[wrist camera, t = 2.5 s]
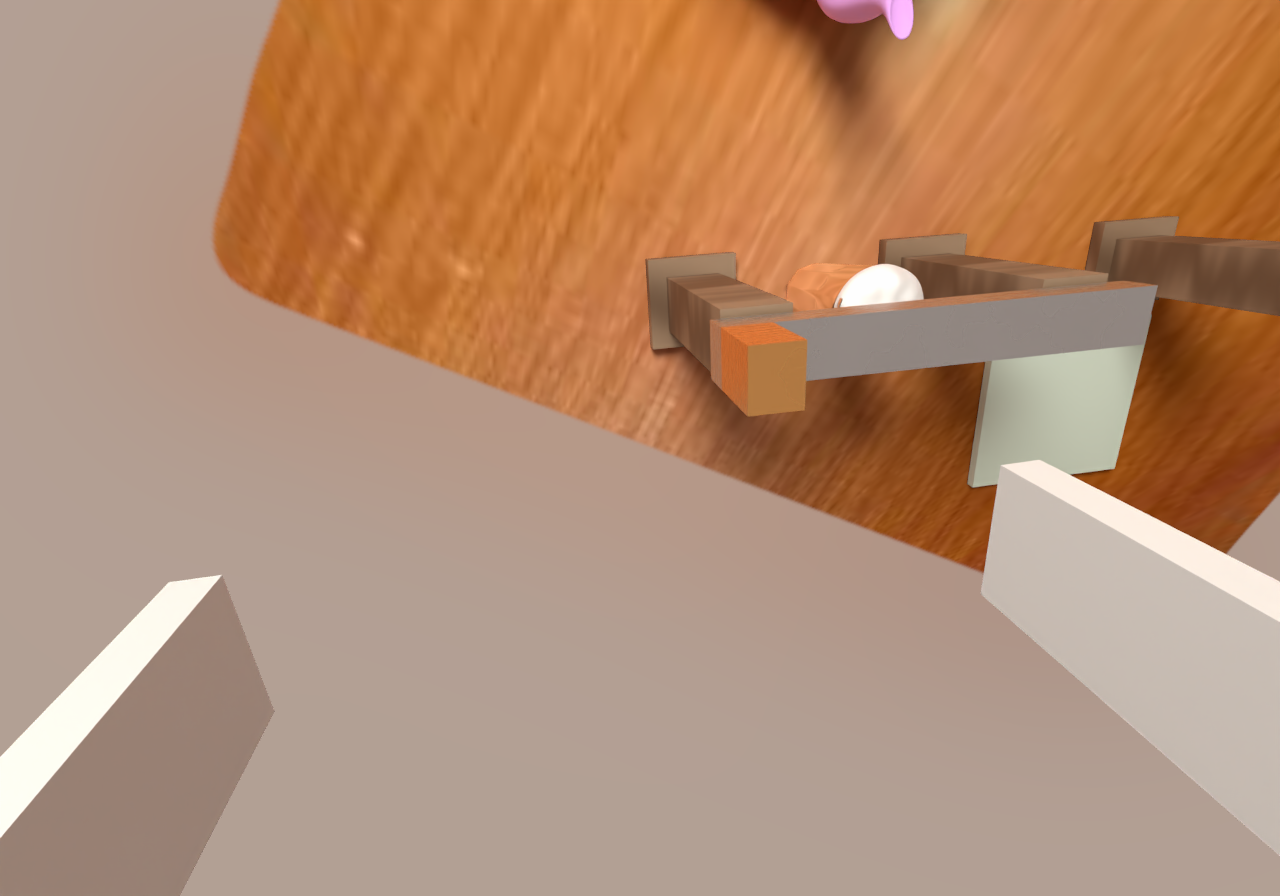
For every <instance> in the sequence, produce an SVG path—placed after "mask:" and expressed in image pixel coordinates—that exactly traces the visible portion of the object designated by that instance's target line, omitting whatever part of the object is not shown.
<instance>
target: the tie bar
mask: <svg viewBox="0 0 1280 896" xmlns="http://www.w3.org/2000/svg"><path fill="white" fill-rule="evenodd" d="M1157 287H1158V285H1152V284H1145V283H1137V282H1130V281H1114V282H1103V283H1093V284H1082V285H1072V286H1061V287H1050V288H1040V289H1029V290H1019V291H1008V292H997V293H987V294H976V295H966V296H955V297H944V298H934V299H923V300H913V301H902V302H891V303H881V304H870V305H860V306H849V307H838V308H828V309H817V310H807V311H796V312H785V313H775V314H764V315H754V316H743V317H732V318H722V319H711V320H710V349H711V379H712V380H713V381H714V382H715V383H716V384H717V386H718V387H719V388H720V389H721V390H722V391H723V392H724V393H725V394H726V395H727V396H728V397H729V398H730V399H731V400H732V401H733V402H734V403H735V404H736V405H737V406H738V407H739V408H740V409H741V410H742V411H743V412H744V413H745V414H746V415H747V416H748V417H749V416H758V415H767V414H776V413H784V412H793V411H802V410H805V394H806V381H810V380H819V379H828V378H838V377H847V376H856V375H865V374H875V373H884V372H893V371H902V370H912V369H921V368H930V367H940V366H949V365H958V364H967V363H977V362H986V361H995V360H1004V359H1014V358H1023V357H1032V356H1041V355H1051V354H1060V353H1069V352H1079V351H1088V350H1097V349H1106V348H1116V347H1125V346H1134V345H1143V344H1144V341H1145V337H1146V333H1147V328H1148V324H1149V320H1150V316H1151V312H1152V308H1153V304H1154V300H1155V295H1156V291H1157Z"/></svg>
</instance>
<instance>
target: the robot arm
mask: <svg viewBox="0 0 1280 896" xmlns="http://www.w3.org/2000/svg"><path fill="white" fill-rule="evenodd" d="M981 595H982V596H984V597H985V598H986V599H987V600H988V601H989V602H990V603H992V604H993V605H994V606H995V607H996V608H997V609H998V610H1000V611H1001V612H1002V613H1003V614H1004V615H1005V616H1006V617H1008V618H1009V619H1010V620H1011V621H1012V622H1013V623H1014V624H1016V625H1017V626H1018V627H1019V628H1020V629H1021V630H1022V631H1024V632H1025V633H1026V634H1027V635H1028V636H1030V638H1032V639H1033V640H1034V641H1035V642H1036V643H1037V644H1038V645H1040V646H1041V647H1042V648H1043V649H1044V650H1045V651H1046V652H1047V653H1049V654H1050V655H1051V656H1052V657H1053V658H1054V659H1055V660H1057V661H1058V662H1059V663H1060V664H1061V665H1062V666H1064V667H1065V668H1066V669H1067V670H1068V671H1069V672H1070V673H1071V674H1073V675H1074V676H1075V677H1076V678H1077V679H1078V680H1080V681H1081V682H1082V683H1083V684H1084V685H1085V686H1087V688H1089V689H1090V690H1091V691H1092V692H1093V693H1094V694H1095V695H1097V696H1098V697H1099V698H1100V699H1101V700H1102V701H1103V702H1105V703H1106V704H1107V705H1108V706H1109V707H1110V708H1111V709H1113V710H1114V711H1115V712H1116V713H1117V714H1118V715H1119V716H1121V717H1122V718H1123V719H1124V720H1125V721H1126V722H1127V723H1129V724H1130V725H1131V726H1132V727H1133V728H1134V729H1135V730H1137V731H1138V732H1139V733H1140V734H1141V735H1142V736H1143V737H1145V738H1146V739H1147V740H1148V741H1149V742H1150V743H1151V744H1152V745H1154V746H1155V747H1156V748H1157V749H1158V750H1159V751H1160V752H1162V753H1163V754H1164V755H1165V756H1166V757H1167V758H1169V759H1170V760H1171V761H1172V762H1173V763H1174V764H1175V765H1176V766H1178V767H1179V768H1180V769H1181V770H1182V771H1183V772H1184V773H1186V774H1187V775H1188V776H1189V777H1190V778H1191V779H1192V780H1194V781H1195V782H1196V783H1197V784H1198V785H1199V786H1201V787H1202V788H1203V789H1204V790H1205V791H1206V792H1207V793H1208V794H1210V795H1211V796H1212V797H1213V798H1214V799H1215V800H1216V801H1218V802H1219V803H1220V804H1221V805H1222V806H1223V807H1224V808H1226V809H1227V810H1228V811H1229V812H1230V813H1231V814H1232V815H1233V816H1235V817H1236V818H1237V819H1238V820H1239V821H1240V822H1242V823H1243V824H1244V825H1245V826H1246V827H1247V828H1248V829H1250V830H1251V831H1252V832H1253V833H1254V834H1255V835H1256V836H1257V837H1259V838H1260V839H1261V840H1262V841H1263V842H1264V843H1266V844H1267V845H1268V846H1269V847H1270V848H1271V849H1272V850H1273V851H1275V852H1276V853H1277V854H1278V855H1279V856H1280V582H1279V581H1277V580H1275V579H1274V578H1272V577H1270V576H1268V575H1266V574H1264V573H1262V572H1260V571H1258V570H1256V569H1254V568H1251V567H1250V566H1248V565H1246V564H1244V563H1242V562H1240V561H1238V560H1236V559H1234V558H1232V557H1230V556H1228V555H1226V554H1224V553H1222V552H1220V551H1218V550H1216V549H1214V548H1213V547H1211V546H1209V545H1207V544H1205V543H1203V542H1201V541H1199V540H1197V539H1195V538H1193V537H1191V536H1189V535H1187V534H1185V533H1183V532H1181V531H1179V530H1177V529H1175V528H1173V527H1171V526H1169V525H1167V524H1165V523H1163V522H1161V521H1159V520H1157V519H1155V518H1153V517H1151V516H1149V515H1148V514H1146V513H1144V512H1142V511H1140V510H1138V509H1136V508H1134V507H1132V506H1130V505H1128V504H1126V503H1124V502H1122V501H1120V500H1118V499H1116V498H1114V497H1112V496H1110V495H1108V494H1106V493H1104V492H1102V491H1100V490H1098V489H1096V488H1094V487H1092V486H1090V485H1088V484H1086V483H1084V482H1083V481H1081V480H1079V479H1077V478H1075V477H1073V476H1071V475H1069V474H1067V473H1065V472H1063V471H1061V470H1059V469H1057V468H1055V467H1053V466H1051V465H1049V464H1047V463H1045V462H1043V461H1041V460H1034V461H1027V462H1020V463H1013V464H1006V465H1001V466H1000V473H999V479H998V486H997V492H996V498H995V505H994V511H993V518H992V524H991V531H990V537H989V544H988V550H987V556H986V563H985V569H984V576H983V582H982V589H981ZM273 713H274V709H273V706H272V704H271V701H270V699H269V696H268V693H267V691H266V688H265V686H264V683H263V680H262V678H261V675H260V673H259V670H258V667H257V665H256V662H255V660H254V657H253V654H252V652H251V649H250V646H249V644H248V641H247V639H246V636H245V633H244V631H243V628H242V626H241V623H240V620H239V618H238V615H237V613H236V610H235V607H234V605H233V602H232V600H231V597H230V594H229V592H228V590H227V586H226V584H225V581H224V579H223V576H222V575H218V576H211V577H205V578H197V579H190V580H183V581H176V582H169V583H168V584H167V585H166V586H165V587H164V588H163V589H162V590H161V591H160V592H159V593H158V594H157V595H156V596H155V597H154V599H153V600H152V601H151V602H150V603H149V604H148V605H147V606H146V607H145V608H144V609H143V610H142V611H141V612H140V613H139V614H138V615H137V616H136V617H135V618H134V619H133V620H132V621H131V622H130V623H129V624H128V625H127V626H126V627H125V629H124V630H123V631H122V632H121V633H120V634H119V635H118V636H117V637H116V638H115V639H114V640H113V641H112V642H111V643H110V644H109V645H108V646H107V647H106V648H105V649H104V651H102V652H101V653H100V654H99V655H98V656H97V658H96V659H95V660H94V661H93V662H92V663H91V664H90V665H89V666H88V667H87V668H86V669H85V670H84V671H83V672H82V673H81V674H80V675H79V676H78V677H77V678H76V679H75V680H74V681H73V682H72V683H71V684H70V685H69V686H68V687H67V689H66V690H65V691H64V692H63V693H62V694H61V695H60V696H59V697H58V698H57V699H56V700H55V701H54V702H53V703H52V704H51V705H50V706H49V707H48V708H47V709H46V710H45V711H44V712H43V714H41V715H40V717H39V718H38V719H37V720H36V721H35V722H34V723H33V724H32V725H31V726H30V727H29V728H28V729H27V730H26V731H25V732H24V733H23V734H22V735H21V736H20V737H19V738H18V739H17V740H16V741H15V742H14V744H12V745H11V747H9V749H8V750H7V751H6V752H5V753H4V754H3V755H2V756H1V757H0V896H180V894H181V892H182V890H183V888H184V886H185V885H186V883H187V881H188V879H189V877H190V875H191V873H192V871H193V869H194V867H195V865H196V863H197V861H198V859H199V857H200V855H201V853H202V852H203V849H204V848H205V846H206V844H207V842H208V840H209V838H210V836H211V834H212V832H213V830H214V828H215V826H216V824H217V822H218V820H219V818H220V816H221V815H222V813H223V811H224V809H225V807H226V805H227V803H228V801H229V798H230V797H231V795H232V793H233V791H234V789H235V787H236V785H237V783H238V781H239V779H240V777H241V775H242V774H243V772H244V770H245V768H246V766H247V764H248V762H249V760H250V758H251V756H252V754H253V752H254V750H255V748H256V746H257V744H258V742H259V741H260V738H261V737H262V734H263V733H264V731H265V729H266V727H267V725H268V723H269V721H270V719H271V717H272V715H273Z"/></svg>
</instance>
